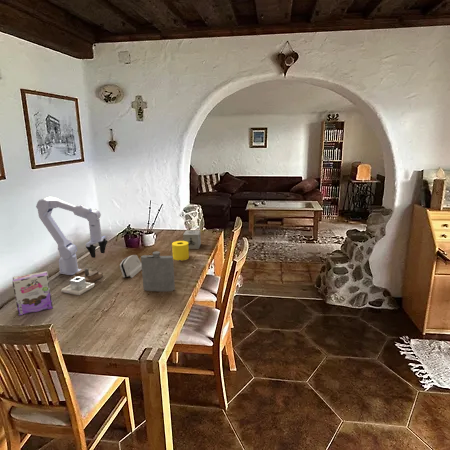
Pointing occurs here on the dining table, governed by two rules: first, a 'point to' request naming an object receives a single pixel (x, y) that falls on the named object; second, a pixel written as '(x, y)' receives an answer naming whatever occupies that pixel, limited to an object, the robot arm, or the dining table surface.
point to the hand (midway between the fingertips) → (98, 255)
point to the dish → (68, 290)
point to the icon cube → (192, 238)
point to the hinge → (130, 266)
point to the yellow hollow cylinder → (180, 250)
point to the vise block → (88, 275)
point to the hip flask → (157, 272)
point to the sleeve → (78, 283)
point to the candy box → (32, 293)
